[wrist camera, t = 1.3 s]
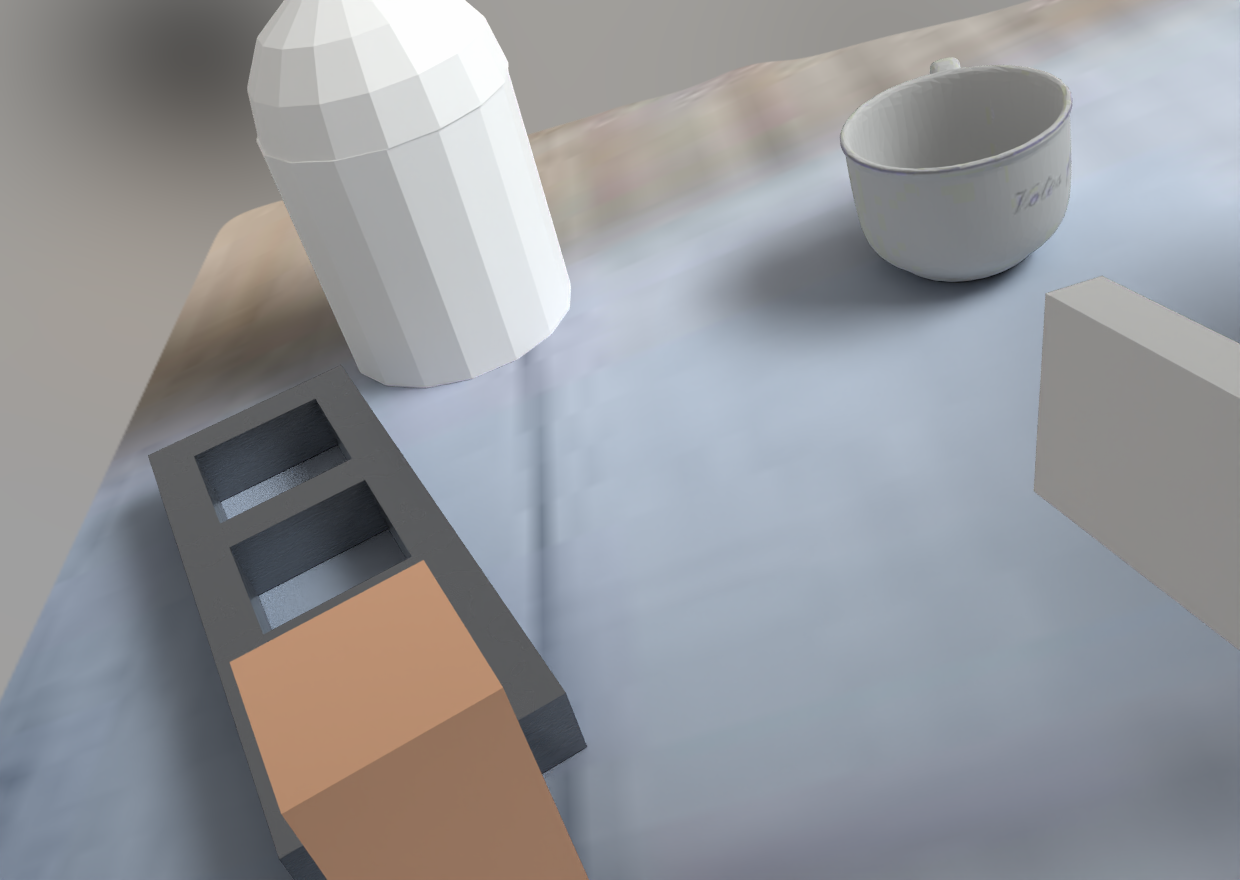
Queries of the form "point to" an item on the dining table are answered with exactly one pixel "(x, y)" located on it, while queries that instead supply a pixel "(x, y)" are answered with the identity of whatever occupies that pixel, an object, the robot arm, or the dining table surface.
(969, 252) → the teacup
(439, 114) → the container
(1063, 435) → the robot arm
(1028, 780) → the dining table surface
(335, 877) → the post
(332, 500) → the rail
